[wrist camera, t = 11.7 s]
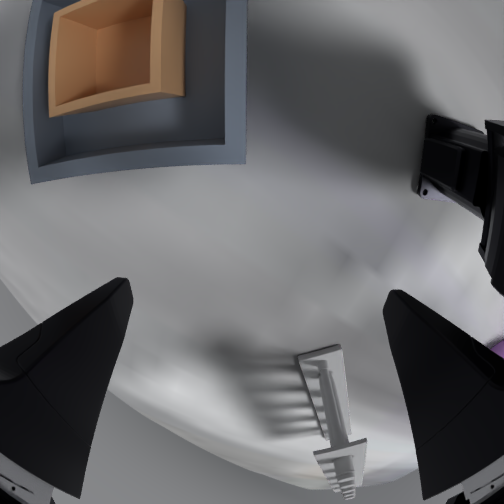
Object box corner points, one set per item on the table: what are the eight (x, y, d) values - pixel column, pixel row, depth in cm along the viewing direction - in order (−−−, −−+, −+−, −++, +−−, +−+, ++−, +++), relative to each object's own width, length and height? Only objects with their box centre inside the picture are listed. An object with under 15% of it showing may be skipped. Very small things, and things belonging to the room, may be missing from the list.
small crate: (186, 6, 11) (165, -25, 7) (185, 96, 14) (160, 91, 10) (95, 27, 11) (54, 12, 7) (93, 111, 14) (49, 117, 10)
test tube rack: (297, 355, 26) (315, 479, 15) (340, 343, 26) (374, 464, 14) (325, 436, 38) (335, 503, 26) (350, 430, 37) (364, 496, 26)
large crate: (248, -35, 10) (248, -63, 7) (246, 152, 17) (245, 164, 13) (63, 6, 10) (33, -4, 6) (62, 168, 17) (31, 184, 13)
